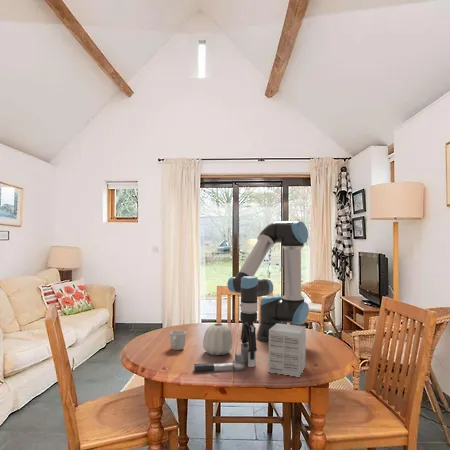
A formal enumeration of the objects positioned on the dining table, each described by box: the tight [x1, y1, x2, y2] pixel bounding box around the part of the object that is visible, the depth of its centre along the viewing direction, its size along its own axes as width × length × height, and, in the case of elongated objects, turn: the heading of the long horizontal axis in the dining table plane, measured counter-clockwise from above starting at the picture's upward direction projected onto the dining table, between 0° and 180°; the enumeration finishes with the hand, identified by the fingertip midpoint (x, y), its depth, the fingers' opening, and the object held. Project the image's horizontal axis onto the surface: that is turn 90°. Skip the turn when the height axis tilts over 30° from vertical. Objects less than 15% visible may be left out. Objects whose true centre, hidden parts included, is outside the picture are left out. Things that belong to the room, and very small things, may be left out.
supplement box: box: [267, 323, 307, 378], centre depth 149 cm, size 13×13×18 cm
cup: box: [169, 329, 187, 351], centre depth 174 cm, size 11×8×8 cm
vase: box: [202, 323, 233, 356], centre depth 170 cm, size 14×14×13 cm
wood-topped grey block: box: [240, 343, 257, 366], centre depth 157 cm, size 5×5×8 cm
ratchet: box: [193, 352, 245, 373], centre depth 147 cm, size 21×5×6 cm, turn 101°
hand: (247, 362), depth 157 cm, fingers open, 11 cm apart
